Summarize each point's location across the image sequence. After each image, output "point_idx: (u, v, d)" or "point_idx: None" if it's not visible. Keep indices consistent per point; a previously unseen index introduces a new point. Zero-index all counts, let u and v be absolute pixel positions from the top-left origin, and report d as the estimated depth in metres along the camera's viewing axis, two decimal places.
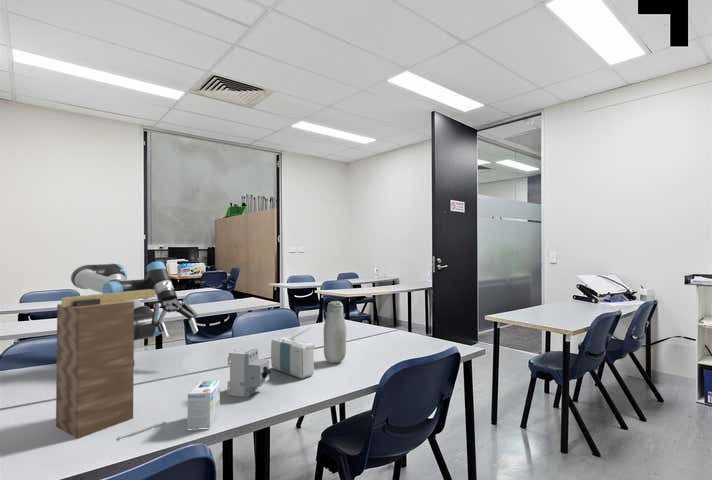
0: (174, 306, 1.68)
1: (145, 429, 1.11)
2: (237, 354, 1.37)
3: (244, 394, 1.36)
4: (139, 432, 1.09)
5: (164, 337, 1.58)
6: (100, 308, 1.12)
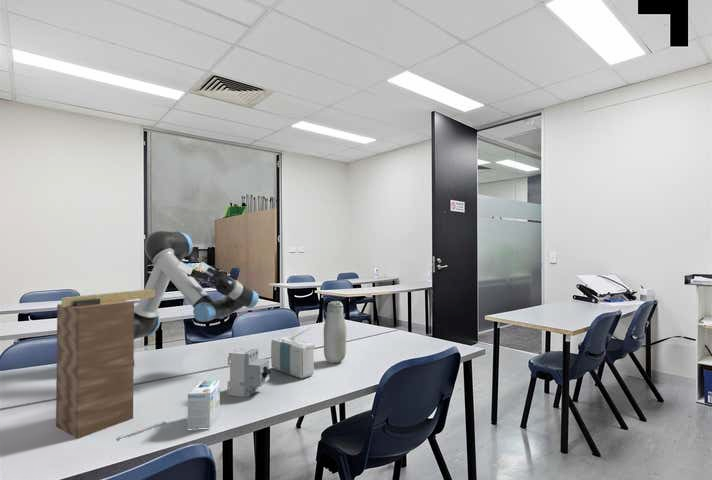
0: None
1: (145, 429, 1.11)
2: (237, 354, 1.37)
3: (244, 394, 1.36)
4: (139, 432, 1.09)
5: None
6: (100, 308, 1.12)
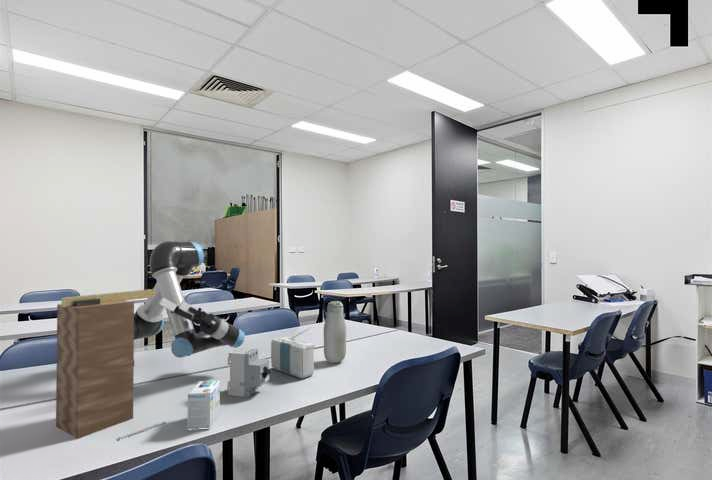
0: None
1: (145, 429, 1.11)
2: (237, 354, 1.37)
3: (244, 394, 1.36)
4: (139, 432, 1.09)
5: None
6: (100, 308, 1.12)
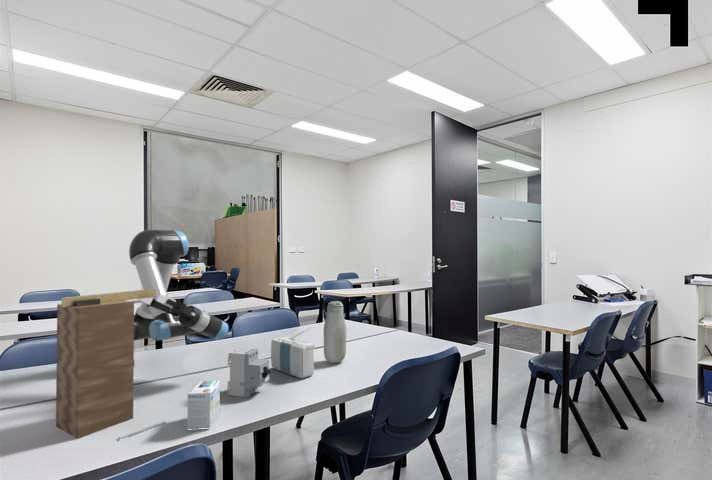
0: None
1: (145, 429, 1.11)
2: (237, 354, 1.37)
3: (244, 394, 1.36)
4: (139, 432, 1.09)
5: None
6: (100, 308, 1.12)
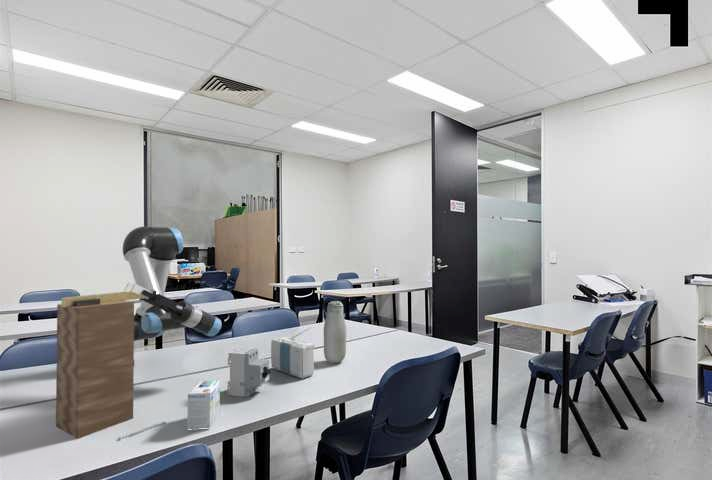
0: None
1: (145, 429, 1.11)
2: (237, 354, 1.37)
3: (244, 394, 1.36)
4: (139, 432, 1.09)
5: None
6: (100, 308, 1.12)
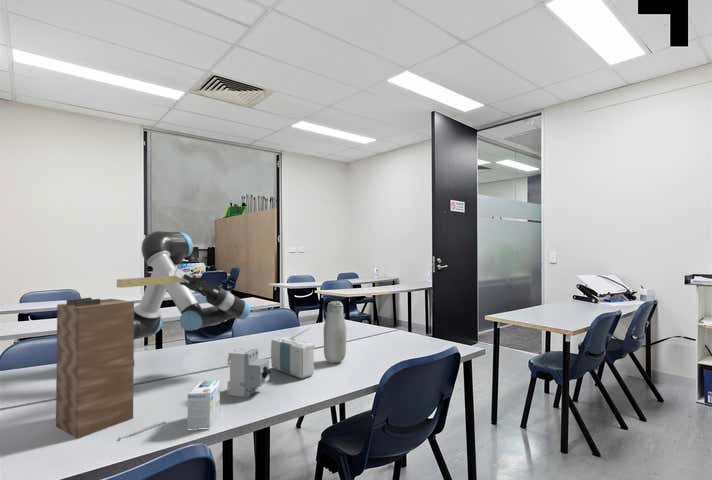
0: None
1: (145, 429, 1.11)
2: (237, 354, 1.37)
3: (244, 394, 1.36)
4: (139, 432, 1.09)
5: None
6: (100, 308, 1.12)
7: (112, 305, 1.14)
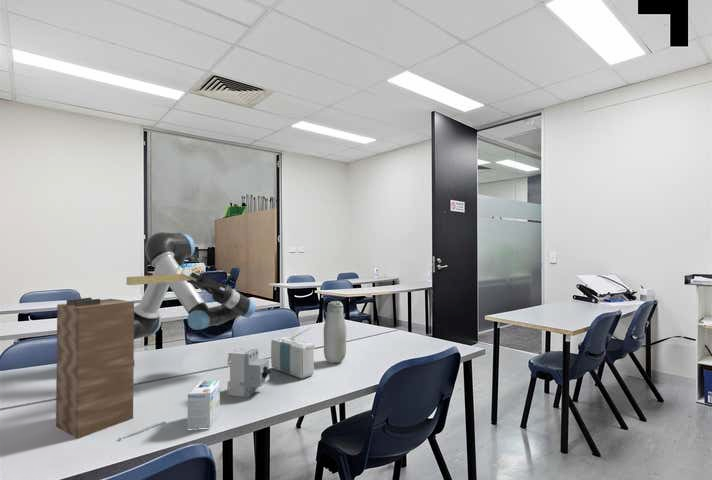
0: None
1: (145, 429, 1.11)
2: (237, 354, 1.37)
3: (244, 394, 1.36)
4: (139, 432, 1.09)
5: None
6: (100, 308, 1.12)
7: (112, 305, 1.14)
